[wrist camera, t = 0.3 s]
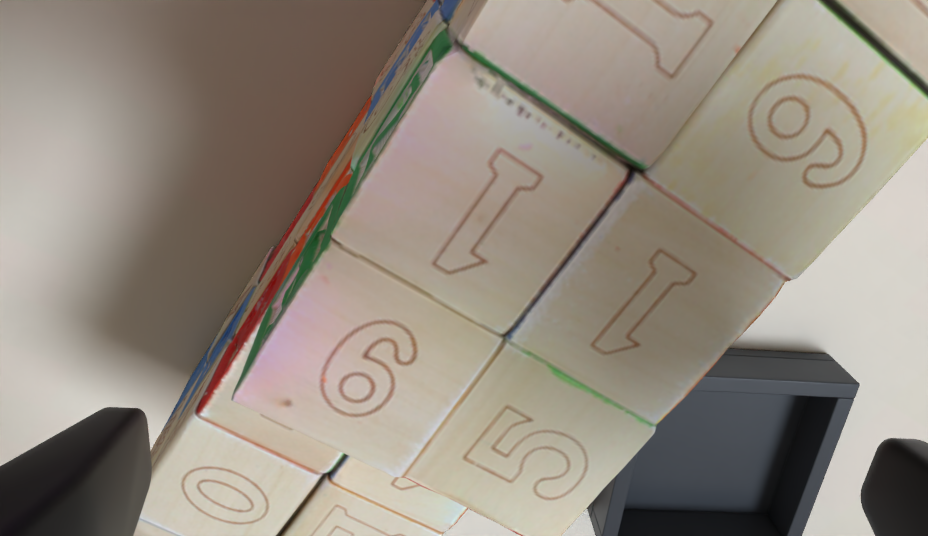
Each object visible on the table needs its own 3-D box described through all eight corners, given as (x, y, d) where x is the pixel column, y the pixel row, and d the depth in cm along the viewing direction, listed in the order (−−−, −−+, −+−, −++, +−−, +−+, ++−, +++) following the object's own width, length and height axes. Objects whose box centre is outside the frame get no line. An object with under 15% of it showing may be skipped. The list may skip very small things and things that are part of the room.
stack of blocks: (343, 455, 26) (286, 835, 15) (186, 377, 24) (-12, 742, 13) (741, -67, 20) (1180, -97, 8) (567, -224, 18) (824, -530, 7)
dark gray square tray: (771, 515, 29) (795, 554, 27) (587, 510, 28) (598, 548, 26) (829, 353, 25) (860, 383, 24) (623, 342, 25) (640, 372, 23)
